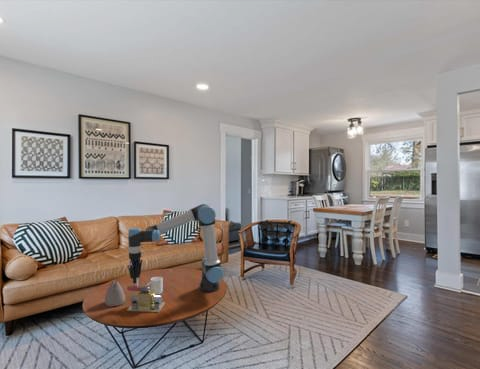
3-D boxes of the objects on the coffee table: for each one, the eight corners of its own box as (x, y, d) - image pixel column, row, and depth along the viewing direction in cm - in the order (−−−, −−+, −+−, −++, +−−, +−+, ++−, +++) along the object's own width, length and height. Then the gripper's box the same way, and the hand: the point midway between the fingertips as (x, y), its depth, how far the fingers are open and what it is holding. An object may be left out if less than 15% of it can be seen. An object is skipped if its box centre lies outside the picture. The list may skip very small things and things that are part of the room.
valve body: (164, 303, 184) (165, 288, 183) (158, 312, 172) (158, 296, 171) (135, 302, 185) (135, 287, 185) (127, 310, 173) (127, 295, 173)
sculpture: (101, 307, 177) (101, 284, 177) (108, 299, 189) (108, 277, 189) (122, 306, 178) (122, 283, 178) (128, 298, 190) (128, 277, 190)
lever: (151, 290, 180) (151, 286, 180) (147, 292, 176) (147, 288, 176) (130, 288, 182) (130, 284, 182) (126, 290, 179) (126, 286, 178)
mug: (147, 297, 193) (147, 282, 192) (143, 293, 199) (143, 279, 199) (164, 293, 200) (164, 279, 199) (160, 289, 206) (160, 275, 206)
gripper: (135, 249, 188) (136, 283, 189) (123, 254, 175) (124, 291, 176) (145, 249, 186) (146, 284, 187) (134, 255, 173) (134, 292, 174)
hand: (135, 287), depth 182 cm, fingers closed
